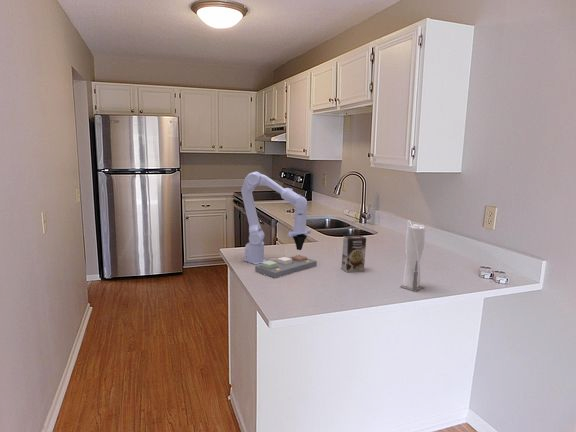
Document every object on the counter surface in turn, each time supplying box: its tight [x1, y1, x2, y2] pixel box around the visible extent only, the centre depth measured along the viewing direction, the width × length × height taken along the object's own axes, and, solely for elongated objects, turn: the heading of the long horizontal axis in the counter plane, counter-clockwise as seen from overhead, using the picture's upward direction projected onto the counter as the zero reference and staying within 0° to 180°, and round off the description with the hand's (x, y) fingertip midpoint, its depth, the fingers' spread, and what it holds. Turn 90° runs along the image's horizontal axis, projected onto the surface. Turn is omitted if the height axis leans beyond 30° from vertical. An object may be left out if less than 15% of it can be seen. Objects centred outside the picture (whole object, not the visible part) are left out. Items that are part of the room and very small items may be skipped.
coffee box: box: [341, 235, 367, 273], centre depth 188 cm, size 9×6×16 cm
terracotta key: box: [291, 254, 307, 262], centre depth 196 cm, size 5×5×3 cm
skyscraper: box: [399, 219, 426, 293], centre depth 166 cm, size 8×8×28 cm
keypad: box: [254, 256, 318, 279], centre depth 188 cm, size 13×28×3 cm, turn 136°
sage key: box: [260, 260, 277, 270], centre depth 182 cm, size 5×5×3 cm
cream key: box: [276, 256, 292, 266], centre depth 189 cm, size 5×5×3 cm
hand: (299, 249), depth 196 cm, fingers closed
